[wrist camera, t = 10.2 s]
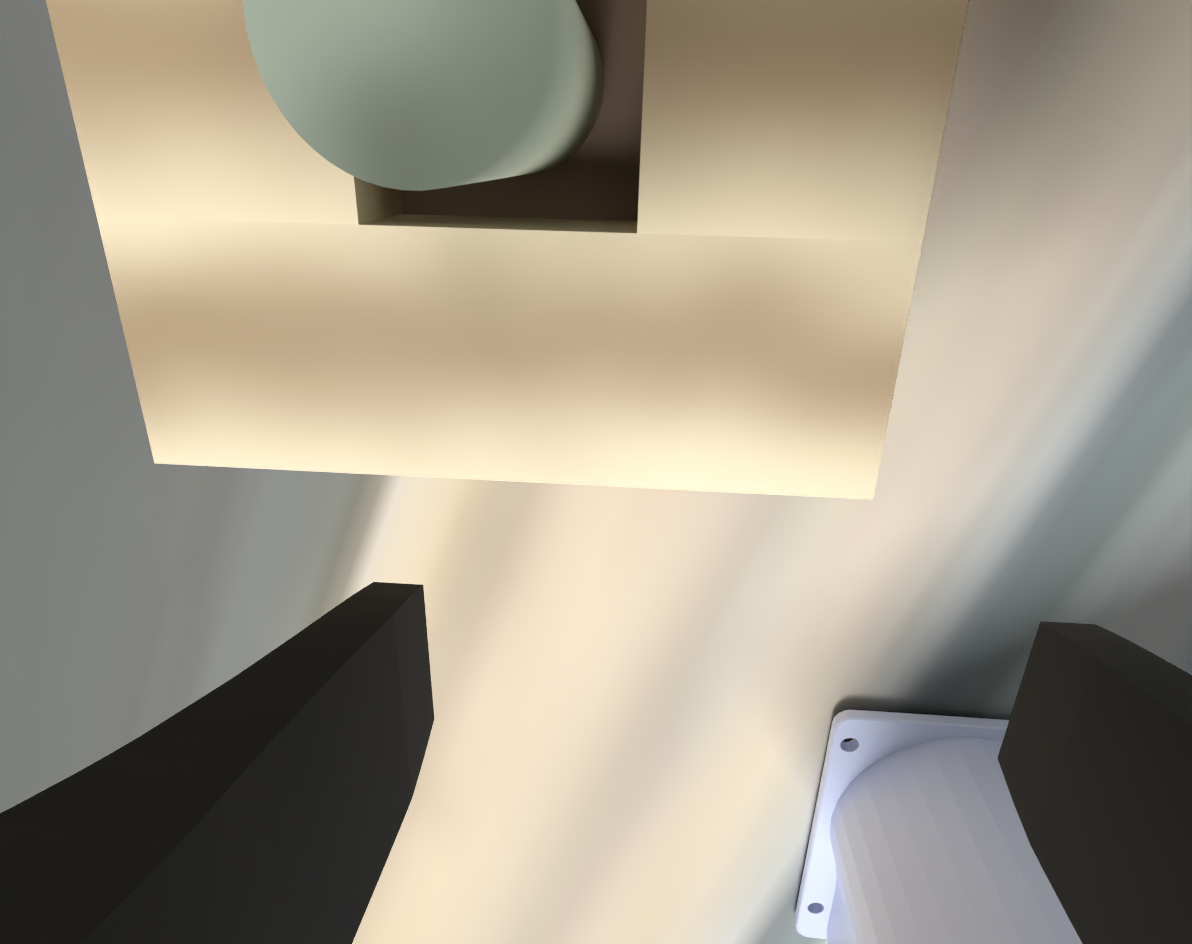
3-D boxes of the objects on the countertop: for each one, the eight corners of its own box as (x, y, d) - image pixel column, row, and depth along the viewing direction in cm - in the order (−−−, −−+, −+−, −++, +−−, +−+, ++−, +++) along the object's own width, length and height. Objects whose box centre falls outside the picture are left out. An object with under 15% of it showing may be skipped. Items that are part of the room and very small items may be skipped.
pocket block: (840, 448, 19) (873, 499, 16) (224, 419, 19) (154, 463, 17) (990, -453, 12) (1089, -630, 9) (64, -433, 13) (-93, -589, 10)
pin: (606, 170, 16) (567, 184, 9) (445, 177, 16) (279, 195, 9) (599, -23, 15) (547, -199, 7) (424, -12, 15) (206, -170, 8)
